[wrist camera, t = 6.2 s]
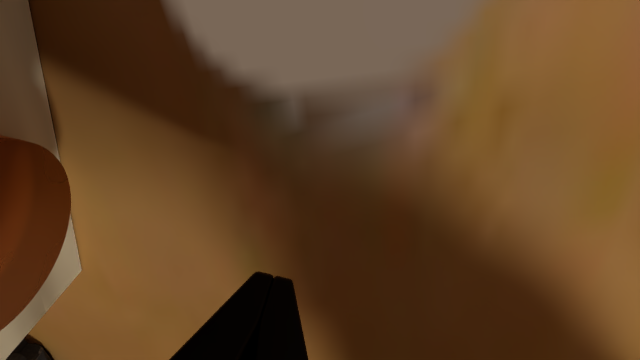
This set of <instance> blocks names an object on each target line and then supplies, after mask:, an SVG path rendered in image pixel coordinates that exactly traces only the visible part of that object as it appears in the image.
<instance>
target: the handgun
mask: <svg viewBox="0 0 640 360" xmlns="http://www.w3.org/2000/svg"><path fill="white" fill-rule="evenodd" d="M6 360H51V358H50V357H49V356H48V354H47V353H46V352H45V351H44V349H43V347H41V346H40V345H37V344H29V343H27V341H26V340H25V339H23V340H22V341H21V342H20V343H19V344H18V346H17V347H16V348H15V349H14V350H13V351H12V353H11V354H10V355H9V356H8V357H7V358H6Z"/></svg>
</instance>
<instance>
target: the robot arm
mask: <svg viewBox="0 0 640 360" xmlns="http://www.w3.org/2000/svg"><path fill="white" fill-rule="evenodd" d="M169 360H308V356H307V351H306V346H305V341H304V336H303V331H302V325H301V320H300V315H299V310H298V305H297V300H296V295H295V290H294V285H293V282H292V280H291V279H288V278H284V277H280V276H275V277H274V279H273V276H272V275H271V274H267V273H263V272H255V273H254V274H253V275H252V276H251V277H250V278H249V279H248V280H247V281H246V282H245V283H244V284H243V285H242V286H241V287H240V288H239V289H238V290H237V291H236V292H235V293H234V294H233V295H232V296H231V297H230V298H229V299H228V300H227V301H226V302H225V303H224V304H223V305H222V306H221V307H220V308H219V309H218V310H217V311H216V312H215V313H214V315H213V316H212V317H211V318H210V319H209V320H208V321H207V322H206V323H205V324H204V325H203V326H202V327H201V328H200V329H199V330H198V331H197V332H196V333H195V334H194V335H193V336H192V337H191V338H190V339H189V340H188V341H187V342H186V343H185V344H184V345H183V346H182V347H181V348H180V349H179V350H178V351H177V352H176V353H175V354H174V355H173V356H172V357H171V358H170V359H169Z"/></svg>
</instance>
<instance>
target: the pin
mask: <svg viewBox="0 0 640 360" xmlns="http://www.w3.org/2000/svg"><path fill="white" fill-rule="evenodd" d="M70 211H71V193H70V186H69V182H68V178H67V175H66V172H65V170H64V168H63V166H62V164H61V163H60V161H59V160H58V159H57V158H56V156H55V155H54V154H53V153H51V152H50V151H49V150H48V149H46V148H44V147H42V146H40V145H38V144H35V143H32V142H28V141H24V140H20V139H16V138H11V137H7V136H3V135H0V331H1V330H2V329H4V328H5V327H6V326H7V325H8V324H9V323H10V322H12V321H13V320H14V319H15V318H16V317H17V316H18V315H19V314H20V313H21V312H22V311H23V310H24V309H25V307H26V306H27V305H28V304H29V303H30V302H31V300H32V299H33V298H34V297H35V295H36V294H37V293H38V291H39V290H40V288H41V287H42V285H43V284H44V282H45V281H46V279H47V278H48V276H49V274H50V272H51V270H52V269H53V267H54V265H55V263H56V261H57V258H58V256H59V254H60V251H61V249H62V246H63V243H64V240H65V237H66V233H67V229H68V225H69V219H70Z"/></svg>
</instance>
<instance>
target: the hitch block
mask: <svg viewBox="0 0 640 360" xmlns="http://www.w3.org/2000/svg"><path fill="white" fill-rule="evenodd" d="M0 135H3V136H7V137H11V138H16V139H20V140H24V141H28V142H32V143H35V144H38V145H40V146H42V147H44V148H46V149H48V150H49V151H50V152H51V153H53V154H54V155H55V156H56V158H57V159H58V160H59V161H60V159H59V154H58V149H57V144H56V139H55V134H54V129H53V124H52V118H51V113H50V108H49V103H48V98H47V93H46V88H45V83H44V78H43V73H42V68H41V63H40V58H39V53H38V48H37V43H36V38H35V33H34V28H33V23H32V18H31V13H30V8H29V3H28V0H0ZM81 271H82V270H81V265H80V259H79V254H78V249H77V244H76V239H75V234H74V229H73V224H72V219H71V214H70V219H69V225H68V229H67V233H66V237H65V240H64V243H63V246H62V249H61V251H60V254H59V256H58V258H57V261H56V263H55V265H54V267H53V269H52V270H51V272H50V274H49V276H48V278H47V279H46V281H45V282H44V284H43V285H42V287H41V288H40V290H39V291H38V293H37V294H36V295H35V297H34V298H33V299H32V300H31V302H30V303H29V304H28V305H27V306H26V307H25V309H24V310H23V311H22V312H21V313H20V314H19V315H18V316H17V317H16V318H15V319H14V320H13V321H12V322H10V323H9V324H8V325H7V326H6V327H5V328H4V329H2V330H1V331H0V360H6V358H7V357H8V356H9V355H10V354H11V353H12V351H13V350H14V349H15V348H16V347H17V346H18V344H19V343H20V342H21V341H22V340H23V339H24V337H25V336H26V335H27V334H28V333H29V332H30V330H31V329H32V328H33V327H34V326H35V325H36V323H37V322H38V321H39V320H40V319H41V317H42V316H43V315H44V314H45V313H46V312H47V310H48V309H49V308H50V307H51V306H52V305H53V303H54V302H55V301H56V300H57V299H58V298H59V296H60V295H61V294H62V293H63V292H64V291H65V289H66V288H67V287H68V286H69V285H70V284H71V282H72V281H73V280H74V279H75V278H76V277H77V275H78V274H79V273H80V272H81Z"/></svg>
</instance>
